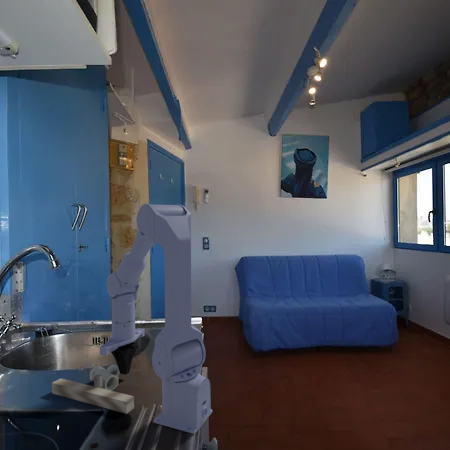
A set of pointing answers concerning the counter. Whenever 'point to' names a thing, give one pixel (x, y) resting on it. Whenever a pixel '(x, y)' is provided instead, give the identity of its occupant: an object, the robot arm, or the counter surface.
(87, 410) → the counter surface
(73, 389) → the light wooden bar
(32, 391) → the counter surface
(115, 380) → the pipe fitting
